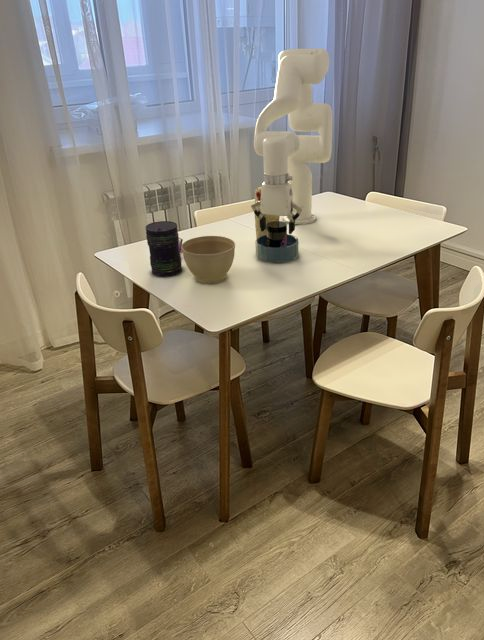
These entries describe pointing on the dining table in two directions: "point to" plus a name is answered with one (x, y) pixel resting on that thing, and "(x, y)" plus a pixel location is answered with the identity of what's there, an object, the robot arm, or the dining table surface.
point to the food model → (268, 217)
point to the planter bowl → (209, 257)
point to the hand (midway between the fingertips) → (277, 231)
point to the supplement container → (276, 234)
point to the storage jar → (164, 248)
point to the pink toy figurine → (180, 244)
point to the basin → (277, 250)
